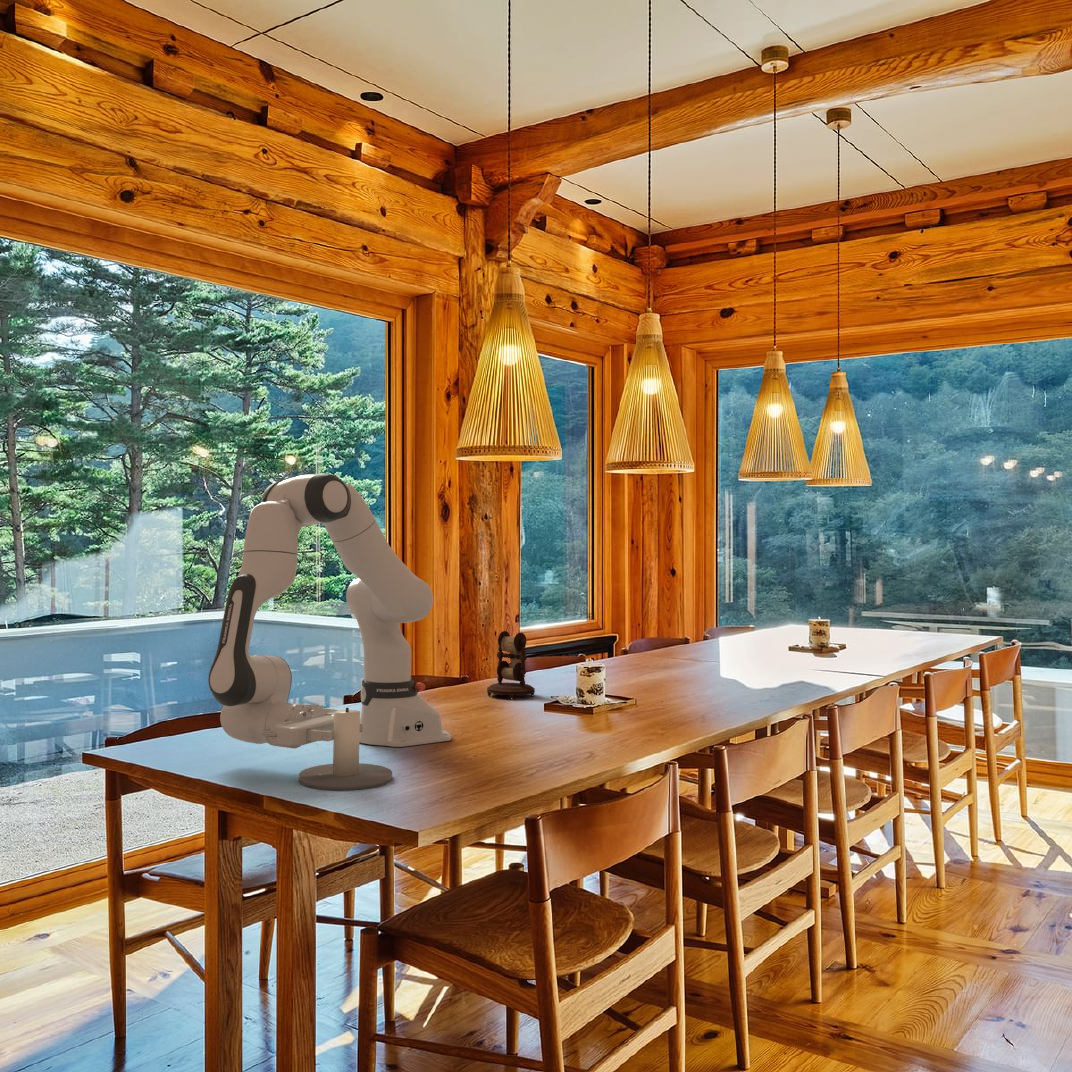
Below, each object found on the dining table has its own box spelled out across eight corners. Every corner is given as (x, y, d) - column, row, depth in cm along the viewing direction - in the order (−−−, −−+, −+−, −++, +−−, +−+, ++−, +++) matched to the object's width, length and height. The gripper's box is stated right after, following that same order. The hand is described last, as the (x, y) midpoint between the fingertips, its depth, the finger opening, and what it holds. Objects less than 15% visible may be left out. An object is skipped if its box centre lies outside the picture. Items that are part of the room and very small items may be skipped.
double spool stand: (544, 696, 307) (545, 632, 307) (512, 701, 295) (513, 634, 296) (509, 691, 316) (510, 628, 317) (477, 696, 305) (478, 631, 305)
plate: (375, 765, 207) (375, 760, 207) (405, 785, 191) (405, 778, 191) (288, 773, 198) (288, 767, 198) (312, 794, 182) (312, 787, 182)
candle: (354, 769, 198) (355, 705, 198) (362, 774, 193) (363, 709, 193) (329, 771, 195) (331, 706, 196) (336, 777, 191) (338, 710, 191)
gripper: (256, 717, 191) (314, 724, 185) (322, 703, 209) (376, 709, 204) (255, 750, 191) (313, 758, 185) (321, 733, 209) (376, 739, 204)
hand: (347, 732), depth 194 cm, fingers open, 8 cm apart
